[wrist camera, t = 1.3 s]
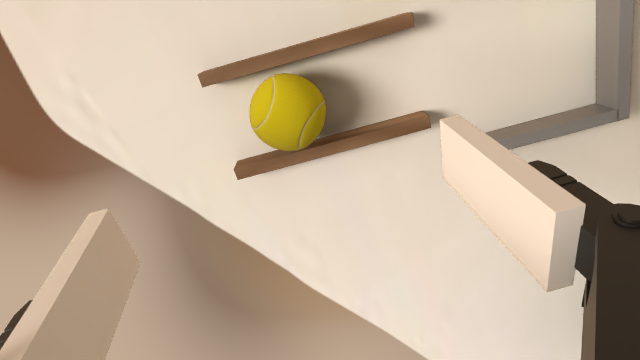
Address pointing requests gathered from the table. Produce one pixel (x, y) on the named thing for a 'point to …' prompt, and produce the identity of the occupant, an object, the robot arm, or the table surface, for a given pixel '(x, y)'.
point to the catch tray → (610, 83)
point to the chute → (332, 142)
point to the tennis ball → (287, 112)
